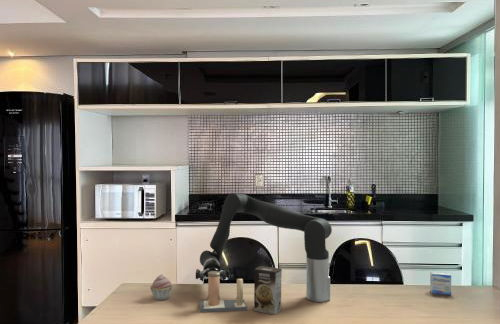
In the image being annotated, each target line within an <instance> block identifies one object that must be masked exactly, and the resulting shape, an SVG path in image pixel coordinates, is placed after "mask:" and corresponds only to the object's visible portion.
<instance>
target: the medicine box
mask: <svg viewBox="0 0 500 324" xmlns="http://www.w3.org/2000/svg"><path fill="white" fill-rule="evenodd" d="M429 275H430V276H429V277H430V278H429V279H430V286H429V287H430V293H431V294H433V295H445V296H451V295H452V275H451V273H449V272H435V271H430V274H429Z"/></svg>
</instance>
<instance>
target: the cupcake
mask: <svg viewBox="0 0 500 324" xmlns="http://www.w3.org/2000/svg"><path fill="white" fill-rule="evenodd" d="M172 288H173V285H172V281H171V280H169V278H167V277H166V276H164V274H160V275H158V276H157V277H156V278H155V279H154V280H153V282H152V285H151V286H150V287H149V289H150V291H151V293H152V298H153V300H155V301H166V300H168V299H169V298H170V295H171V291H172Z"/></svg>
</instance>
